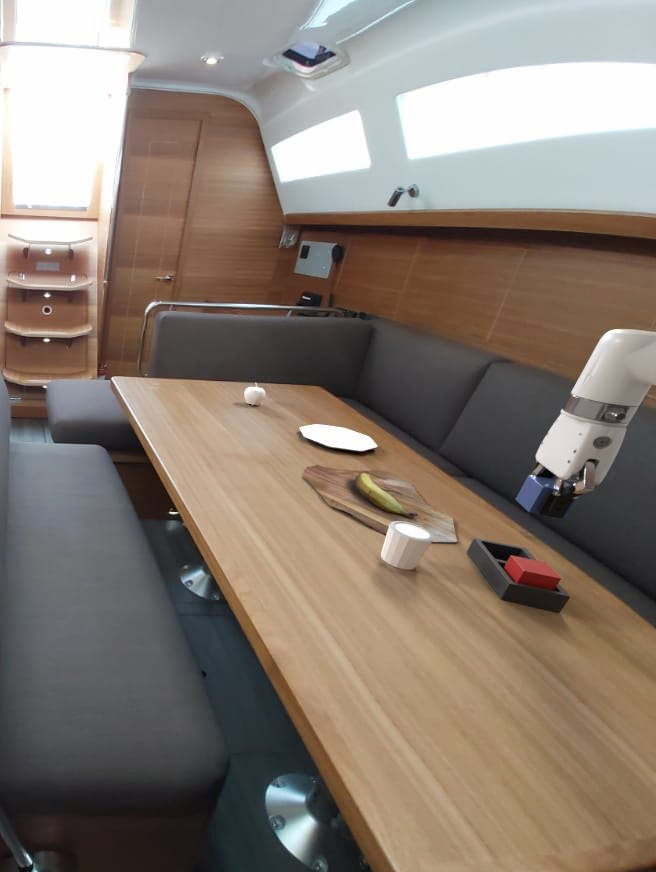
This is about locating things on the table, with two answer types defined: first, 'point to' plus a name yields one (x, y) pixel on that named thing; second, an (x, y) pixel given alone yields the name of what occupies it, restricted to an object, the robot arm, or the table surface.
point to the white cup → (405, 544)
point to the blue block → (538, 493)
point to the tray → (491, 565)
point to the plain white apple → (254, 395)
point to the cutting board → (379, 500)
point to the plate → (338, 437)
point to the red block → (531, 573)
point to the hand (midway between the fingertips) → (541, 506)
